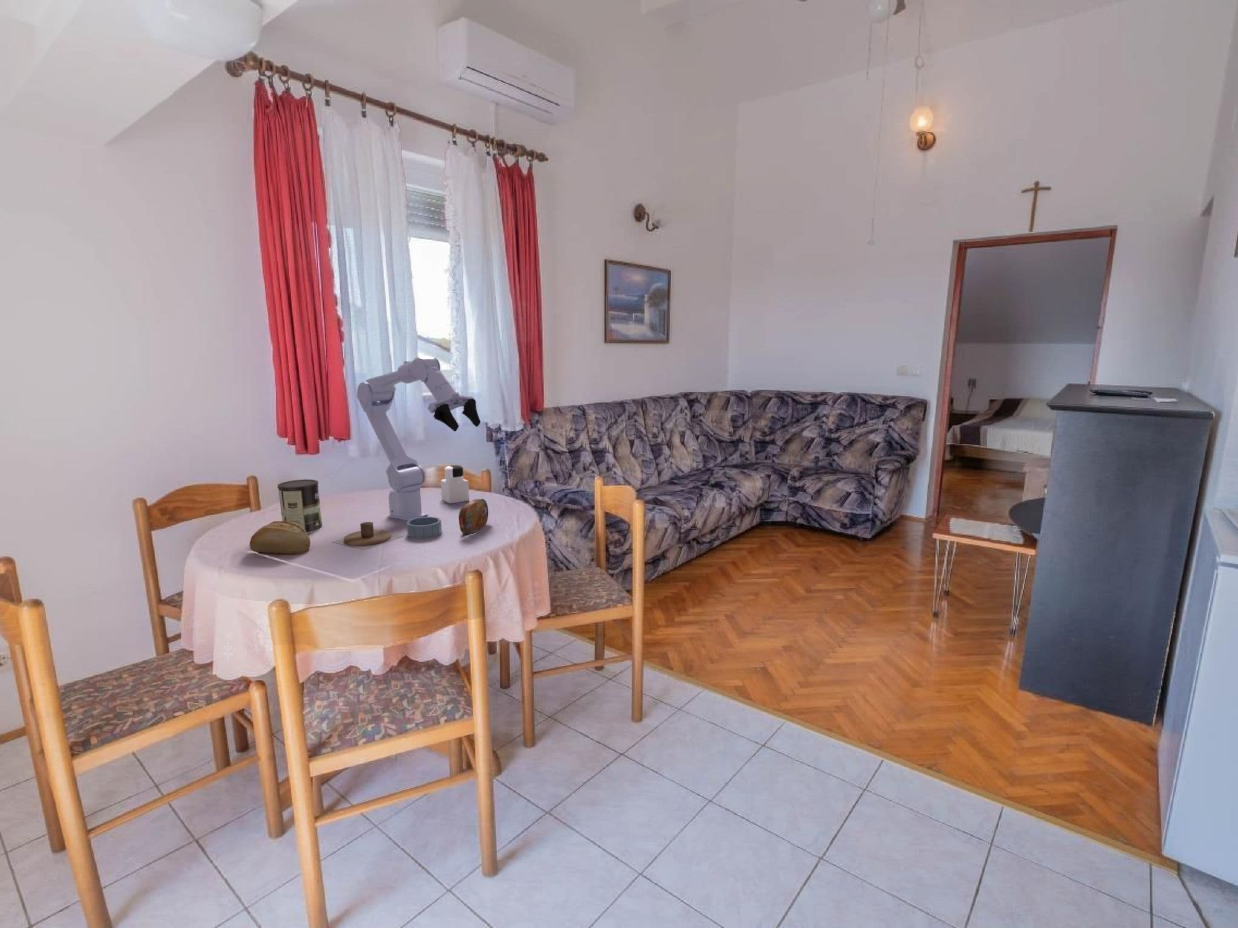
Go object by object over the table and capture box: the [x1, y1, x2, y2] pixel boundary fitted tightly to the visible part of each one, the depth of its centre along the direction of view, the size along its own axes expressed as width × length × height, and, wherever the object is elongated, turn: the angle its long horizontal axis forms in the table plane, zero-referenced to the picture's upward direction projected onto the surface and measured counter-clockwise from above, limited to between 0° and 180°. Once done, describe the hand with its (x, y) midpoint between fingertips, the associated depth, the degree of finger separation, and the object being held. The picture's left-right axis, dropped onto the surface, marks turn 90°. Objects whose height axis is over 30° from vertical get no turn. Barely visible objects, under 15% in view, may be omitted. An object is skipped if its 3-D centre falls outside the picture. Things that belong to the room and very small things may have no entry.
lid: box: [343, 521, 392, 546], centre depth 167 cm, size 12×12×4 cm
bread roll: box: [249, 520, 311, 555], centre depth 158 cm, size 10×15×8 cm, turn 90°
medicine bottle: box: [440, 464, 470, 505], centre depth 209 cm, size 7×7×12 cm
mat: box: [332, 533, 404, 551], centre depth 168 cm, size 13×13×1 cm
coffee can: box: [277, 478, 323, 534], centre depth 175 cm, size 10×10×14 cm
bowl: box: [406, 516, 443, 540], centre depth 173 cm, size 9×9×4 cm
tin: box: [458, 498, 489, 535], centre depth 177 cm, size 15×3×8 cm, turn 168°
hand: (467, 426), depth 169 cm, fingers open, 7 cm apart
